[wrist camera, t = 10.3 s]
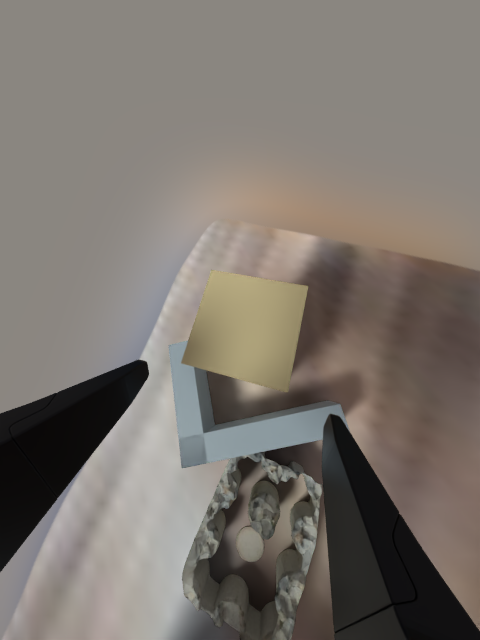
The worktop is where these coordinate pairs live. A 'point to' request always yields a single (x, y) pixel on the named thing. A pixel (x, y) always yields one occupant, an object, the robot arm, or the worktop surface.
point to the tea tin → (247, 329)
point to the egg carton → (254, 553)
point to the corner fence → (240, 435)
